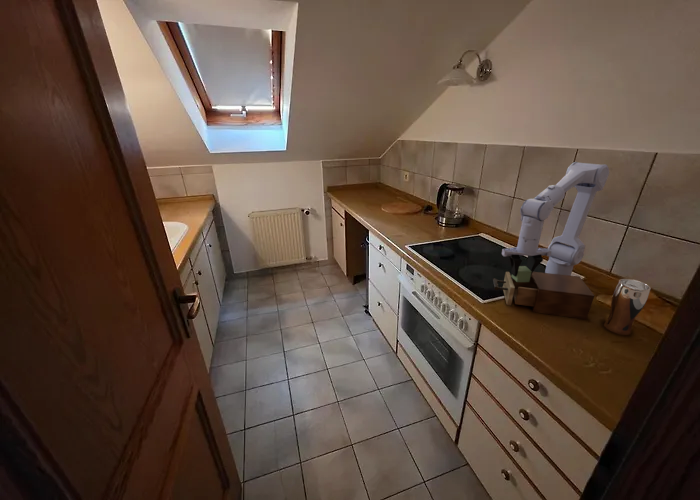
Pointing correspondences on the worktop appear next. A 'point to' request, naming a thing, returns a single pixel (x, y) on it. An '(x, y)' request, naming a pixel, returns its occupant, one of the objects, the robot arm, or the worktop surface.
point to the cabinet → (562, 295)
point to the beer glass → (626, 305)
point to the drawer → (517, 290)
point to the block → (522, 274)
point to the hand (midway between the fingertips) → (521, 275)
